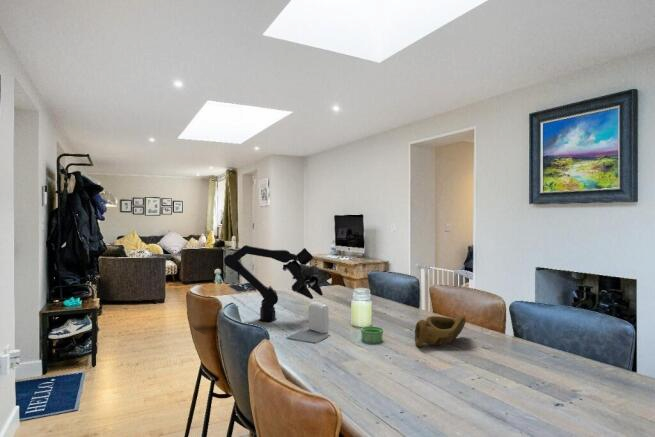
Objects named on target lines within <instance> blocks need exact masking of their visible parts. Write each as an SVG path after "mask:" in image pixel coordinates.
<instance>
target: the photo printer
mask: <svg viewBox="0 0 655 437" xmlns="http://www.w3.org/2000/svg"><path fill="white" fill-rule="evenodd" d="M308 329H309V330H312V331H313V332H316V333H323V334H328V333H329V330H330V329H329V307H328V306H327V305H326V304H325V303H323V302H321V301H313V302H312V301H311V302H310V303H309V305H308Z"/></svg>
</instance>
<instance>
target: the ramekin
mask: <svg viewBox="0 0 655 437" xmlns="http://www.w3.org/2000/svg"><path fill="white" fill-rule="evenodd" d="M360 332H361V339H362V341H363V342H365V343H370V344H371V343H372V344H374V343H375V344H376V343H380V342H382V341H383V333H384V328H383V327H381V326H376V325H375V326H374V325H367V326H362V327H361V328H360Z"/></svg>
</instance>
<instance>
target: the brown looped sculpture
mask: <svg viewBox="0 0 655 437" xmlns="http://www.w3.org/2000/svg"><path fill="white" fill-rule="evenodd" d="M466 321H467V320H466V317H465V316H464V315H462V316H461V317H459V318H453V317H449V316H448V317H447V316H440V315H439V316H437V315H432V316H428V317H426V319H420V320H418V321H417V322H416V324H415V329H414V344H416V346H417V347H419V348H422V347H423V346H424V344H430V345H434V346H439V345H441V344H446V345H447V344H448V345H449V344H450V342H451V341H452V340H455V339H456V338H457V337H458V336H459V335H460V334H461V333H462V331H463V329H464V327H465V325H466Z"/></svg>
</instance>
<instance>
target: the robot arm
mask: <svg viewBox="0 0 655 437" xmlns="http://www.w3.org/2000/svg"><path fill="white" fill-rule="evenodd" d="M246 255H251V256H257V257H263V258H268V259H269V258H270V259H273V260H275V261H278V262H281V263H283V265H282V270H283V271H284V272H286V271H287V270H288V272H289V273H290V274H291V276H292V279H293V280H295V282H294V283H293V284H292V285H291V290H292V292H293V293H296V294H300V295H302V296H304V297H306V298H308V299H311V300H313V299H314V296H313V294H312V293H311V291H310V289H311V290H312V291H313V292H315V293H316V294H318V295H319V296H320V297H322V296H323V295H324V293H323V290H322V288H321V286H320V282H321V279H322V278H321V276H320V275H318V273H319V267H318V266H316V265H315V264H314V265H311V266H310V267H309V268H307V269H306V268H303V267H302V266H306V265H307V264H309V263H310V262H311V261H313V260H314V259H315V258H314V256H313V255H312V254H311V252H309V251H308V250H307V248H306V247H304V248H302V249H301V250H300V251H299V252H297V254H295V253H291V252H290V251H289V250H287V249H268V248H263V247H255V246H251V245H247V244H246V245H243V246H242V247H241V248H240V249H238V250H236V251H235V252H233V253H228V254H227V255H226V256H225V257H224V260H223V263H224V265H225V266H226V267H228V268H229V269H231V270H233V271H234V272H236V273H238V274H239V275H240V276H241V277H242V278H243V279H244V280H245V281H247V282H248V284H250V285H251V286H252V287H253V288H254V289H255V290H256V291H257V292H259V294H260V295H261V297H262V300H261V306H260V308H259V309H260V310H259V311H260V312H259V316H260V317H259V318H258V319H257V321H258V322H259V321H260V322H263V323H264V322H265V323H266V322H267V323H271V322H273V320H274V321H276V320H277V319H278V318H277V317H276V308H275V305H276V304H277V303H278V301H279V297H278V294H277V290H275V289H274V288H273V287H272V286H271V285H270V286H266V285H265V284H263V282H262V281H260V280H259V279H258V278H257V277H256V276H255V275H254V274H253V273H251V271H249V269H248V268H246V267H245V266H244V265H243V263H242V261H241V260H240V259H242V258H244V257H245V256H246ZM299 263H300V264H299ZM314 274H316V275H314ZM308 287H309V288H310V289H309V288H308Z"/></svg>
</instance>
